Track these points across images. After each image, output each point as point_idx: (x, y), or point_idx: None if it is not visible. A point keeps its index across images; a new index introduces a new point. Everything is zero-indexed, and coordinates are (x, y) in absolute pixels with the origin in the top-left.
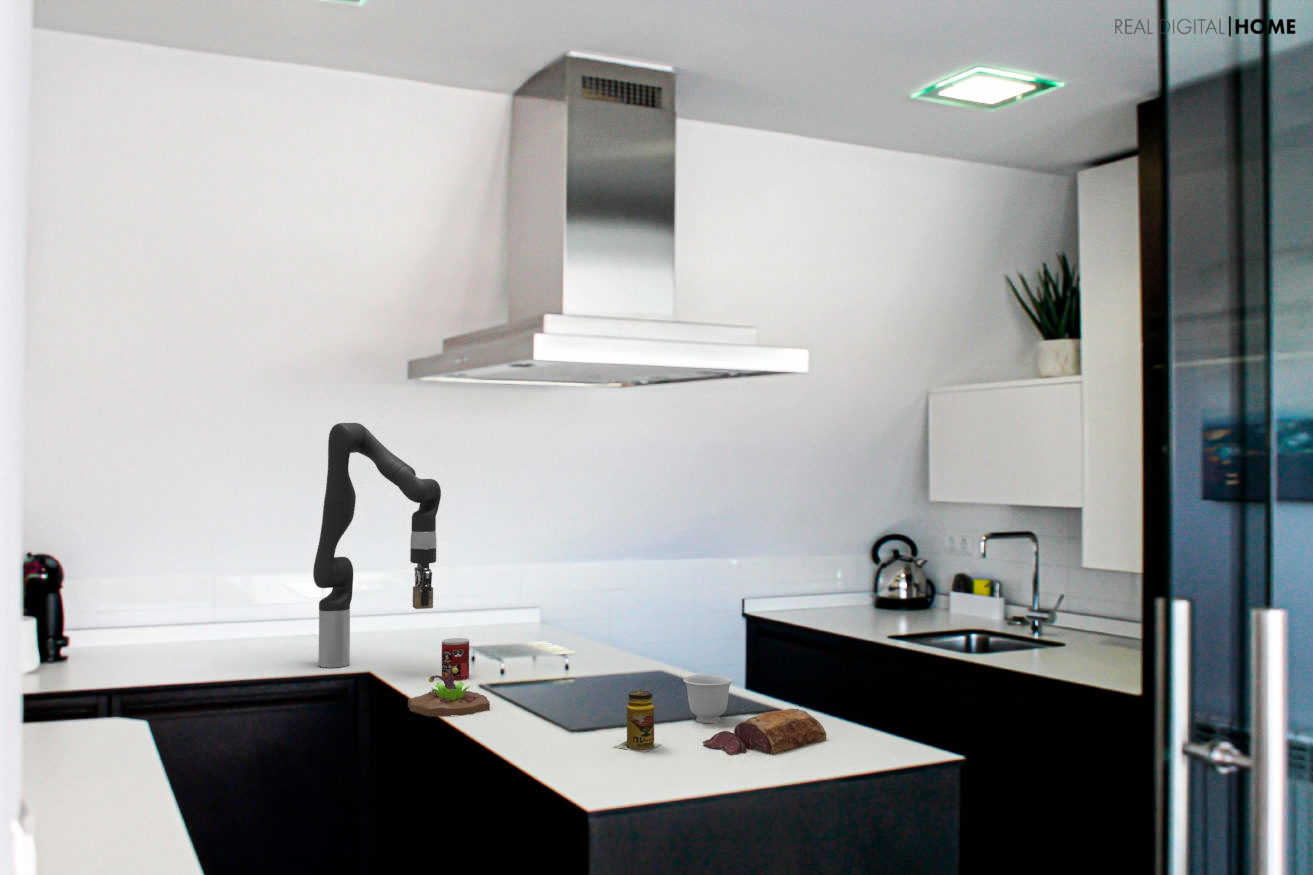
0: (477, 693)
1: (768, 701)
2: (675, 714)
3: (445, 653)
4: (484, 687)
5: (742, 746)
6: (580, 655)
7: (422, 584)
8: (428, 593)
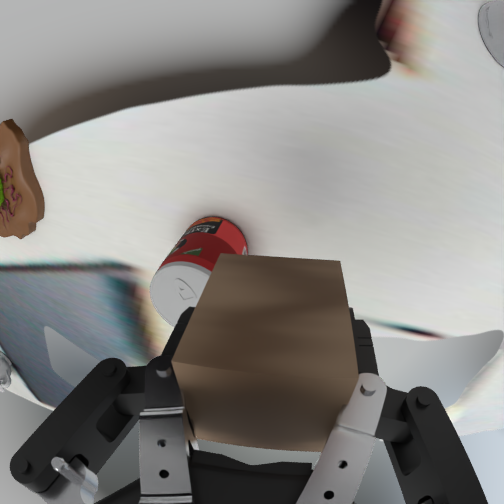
0: (22, 232)
1: None
2: (13, 355)
3: (174, 250)
4: (109, 267)
5: None
6: None
7: (88, 401)
8: None
